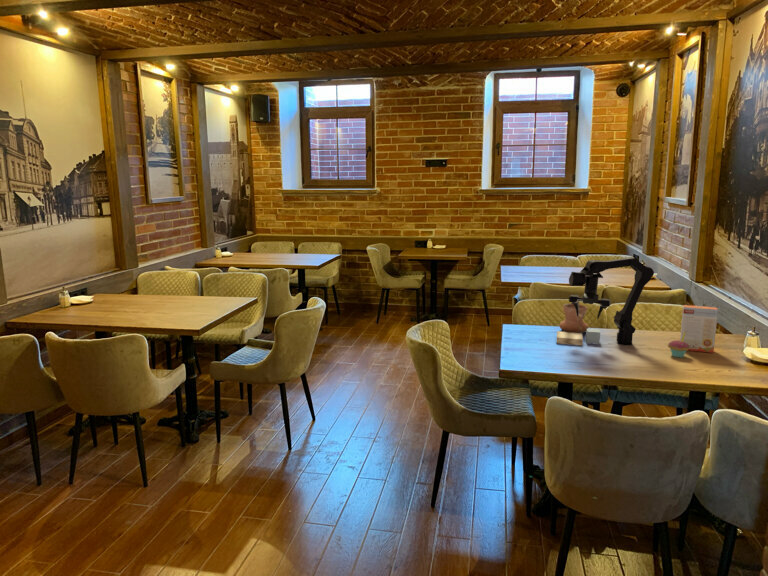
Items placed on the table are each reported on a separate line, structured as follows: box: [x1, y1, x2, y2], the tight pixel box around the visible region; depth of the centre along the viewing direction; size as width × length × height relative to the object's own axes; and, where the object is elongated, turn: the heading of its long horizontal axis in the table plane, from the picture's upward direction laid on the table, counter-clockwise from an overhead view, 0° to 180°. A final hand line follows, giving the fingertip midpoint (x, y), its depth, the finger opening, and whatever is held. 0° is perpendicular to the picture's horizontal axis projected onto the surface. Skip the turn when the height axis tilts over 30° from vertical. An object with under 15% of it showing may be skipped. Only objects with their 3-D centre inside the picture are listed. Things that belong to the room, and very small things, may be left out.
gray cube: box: [585, 328, 601, 345], centre depth 276 cm, size 6×6×6 cm
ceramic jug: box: [559, 303, 589, 334], centre depth 294 cm, size 18×14×14 cm
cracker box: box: [679, 304, 719, 354], centre depth 261 cm, size 14×6×21 cm, turn 65°
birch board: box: [556, 330, 584, 346], centre depth 277 cm, size 12×12×3 cm
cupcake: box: [667, 332, 690, 358], centre depth 253 cm, size 9×8×12 cm
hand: (587, 317), depth 272 cm, fingers open, 9 cm apart
